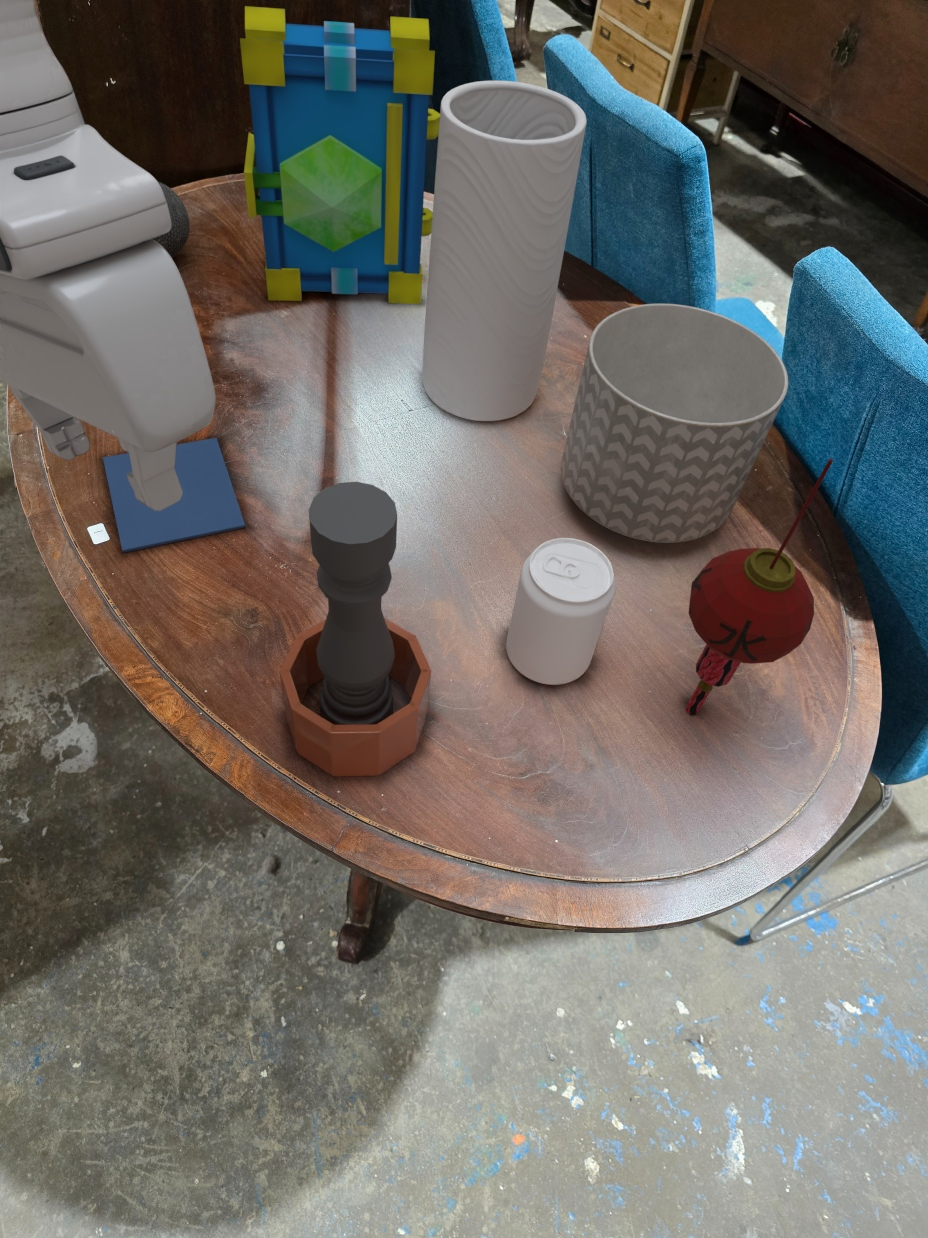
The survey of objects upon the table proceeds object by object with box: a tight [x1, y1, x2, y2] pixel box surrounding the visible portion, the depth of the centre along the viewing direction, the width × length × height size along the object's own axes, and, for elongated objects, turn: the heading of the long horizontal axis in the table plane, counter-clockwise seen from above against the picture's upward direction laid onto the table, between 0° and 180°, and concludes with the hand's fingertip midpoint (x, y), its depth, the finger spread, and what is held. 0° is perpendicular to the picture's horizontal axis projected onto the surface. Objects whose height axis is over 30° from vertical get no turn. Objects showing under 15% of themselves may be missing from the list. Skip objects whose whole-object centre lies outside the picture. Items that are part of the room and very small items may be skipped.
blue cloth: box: [102, 437, 246, 554], centre depth 89 cm, size 12×14×1 cm
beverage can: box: [505, 537, 617, 686], centre depth 76 cm, size 8×8×12 cm
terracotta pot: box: [279, 617, 432, 777], centre depth 72 cm, size 12×12×7 cm
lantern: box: [685, 458, 834, 717], centre depth 67 cm, size 10×10×30 cm
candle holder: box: [308, 481, 398, 725], centre depth 65 cm, size 6×6×25 cm
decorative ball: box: [153, 180, 191, 259], centre depth 113 cm, size 10×10×10 cm
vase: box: [422, 80, 588, 422], centre depth 93 cm, size 14×14×32 cm
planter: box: [560, 303, 789, 544], centre depth 88 cm, size 19×19×18 cm
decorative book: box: [239, 5, 440, 305], centre depth 105 cm, size 14×23×30 cm, turn 96°
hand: (114, 476), depth 45 cm, fingers open, 8 cm apart
